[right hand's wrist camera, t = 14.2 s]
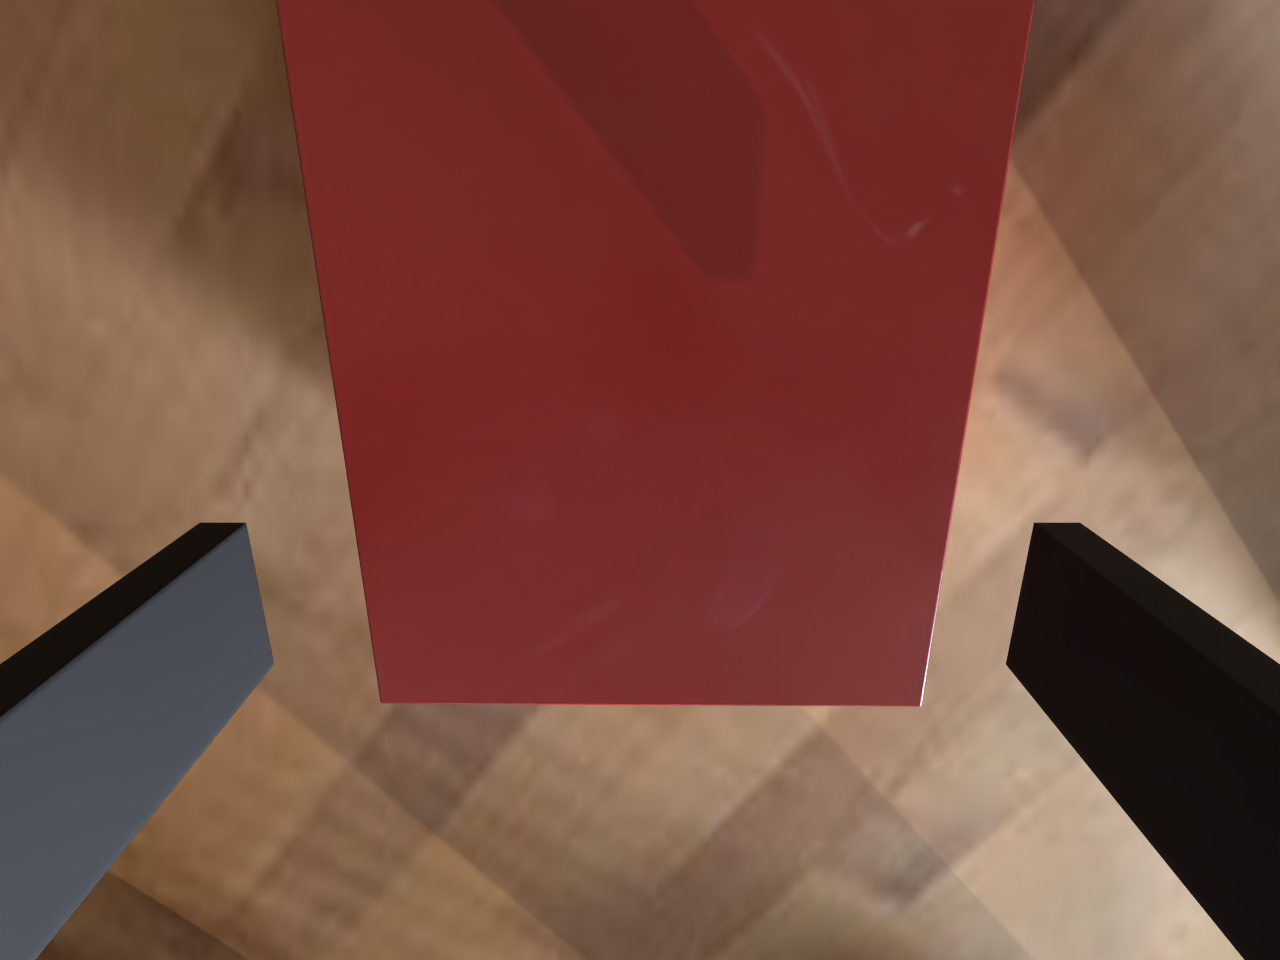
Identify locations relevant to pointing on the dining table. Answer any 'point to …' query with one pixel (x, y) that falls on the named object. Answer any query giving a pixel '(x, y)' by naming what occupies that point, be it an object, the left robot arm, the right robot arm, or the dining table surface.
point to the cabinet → (653, 332)
